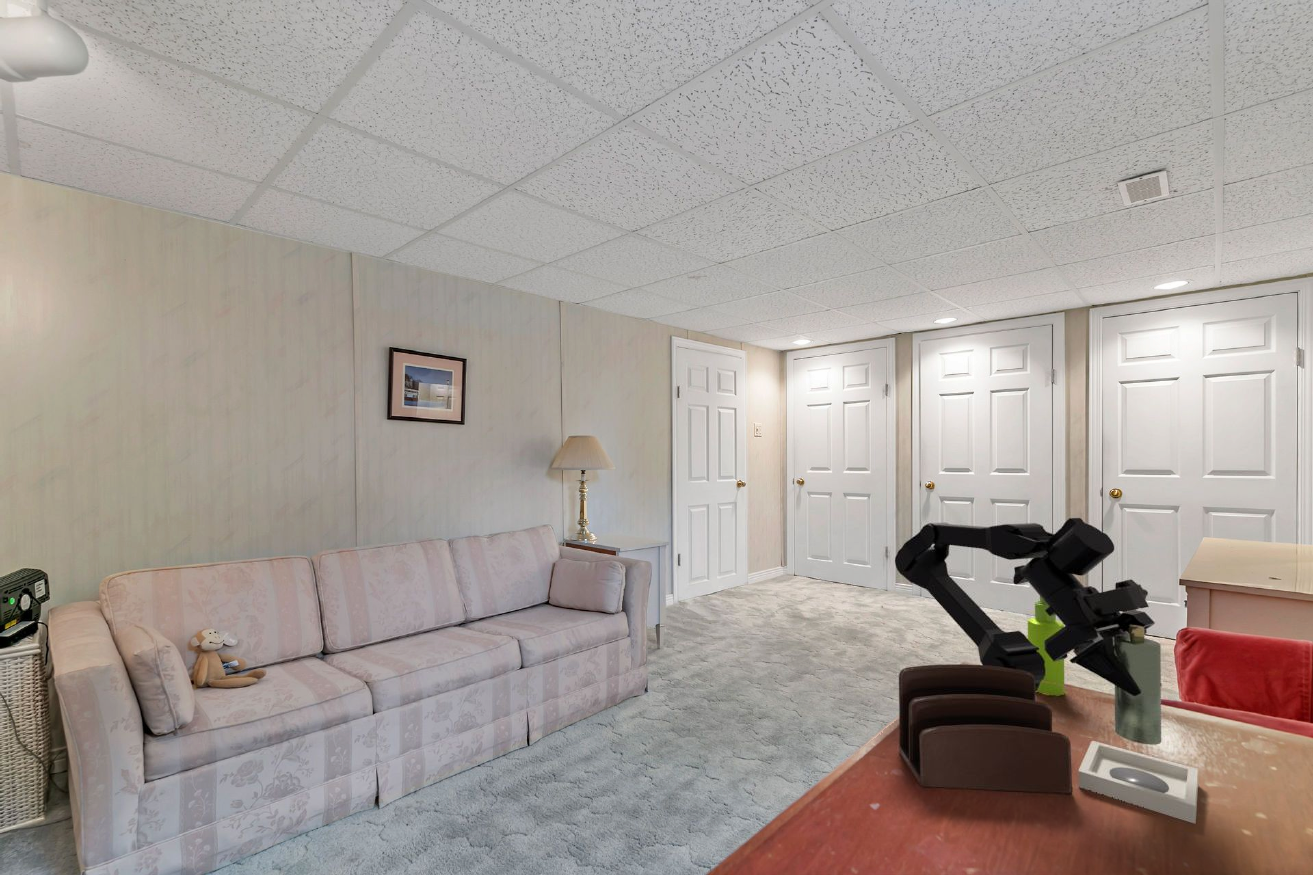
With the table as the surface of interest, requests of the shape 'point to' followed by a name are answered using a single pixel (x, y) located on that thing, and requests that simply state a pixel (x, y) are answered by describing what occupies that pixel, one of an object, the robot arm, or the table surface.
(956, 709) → the letter holder
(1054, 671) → the soap dispenser
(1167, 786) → the tray
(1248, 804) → the table surface
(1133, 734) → the green bottle
